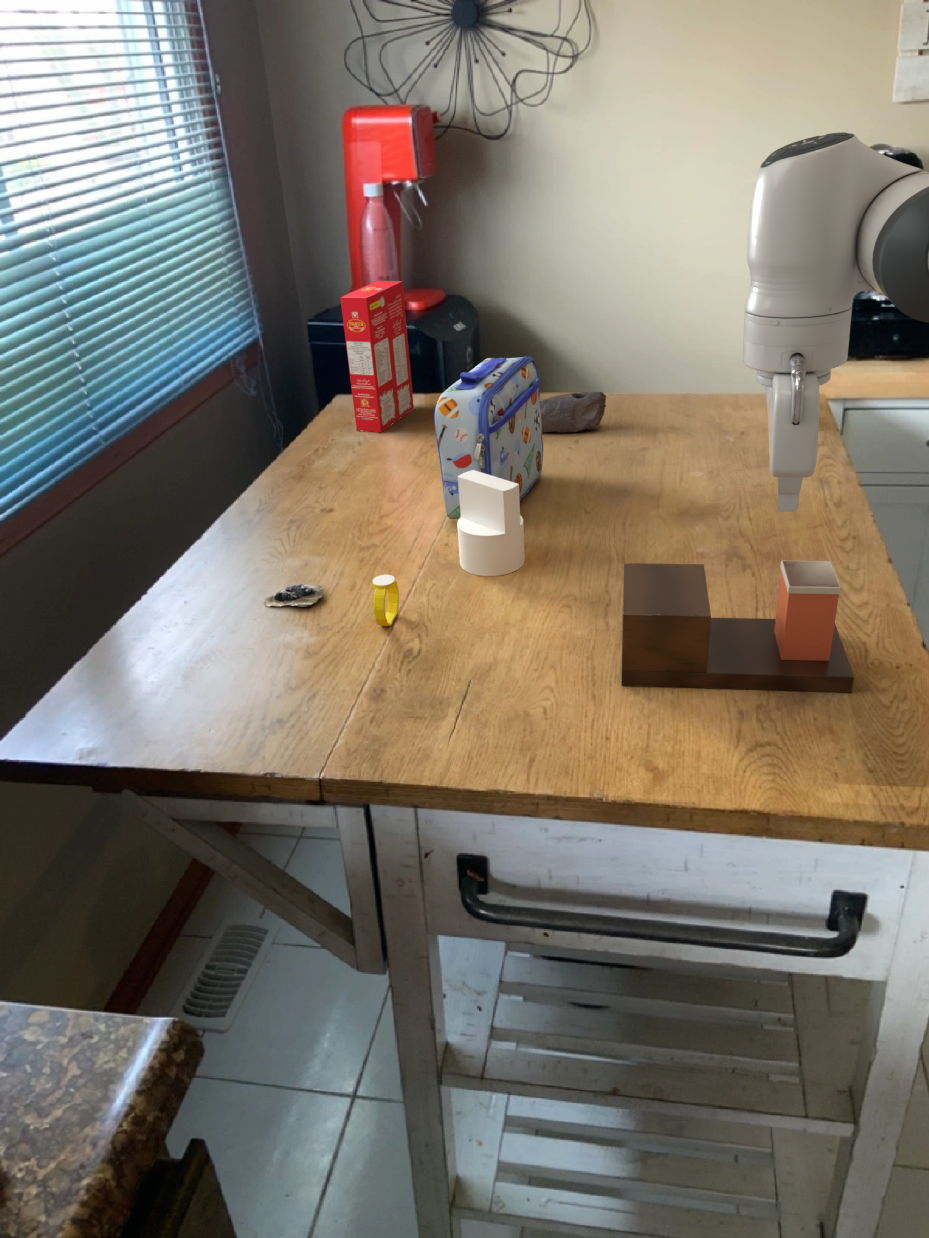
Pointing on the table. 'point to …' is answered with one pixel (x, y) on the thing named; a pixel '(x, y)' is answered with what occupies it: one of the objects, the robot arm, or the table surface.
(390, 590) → the watch
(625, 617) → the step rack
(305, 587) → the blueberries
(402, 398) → the food packaging
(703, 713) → the table surface
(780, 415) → the robot arm
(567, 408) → the perforated stone tool
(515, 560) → the cylinder with rectangular tab
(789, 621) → the tapered rectangular bin
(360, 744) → the table surface
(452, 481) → the lunch box
